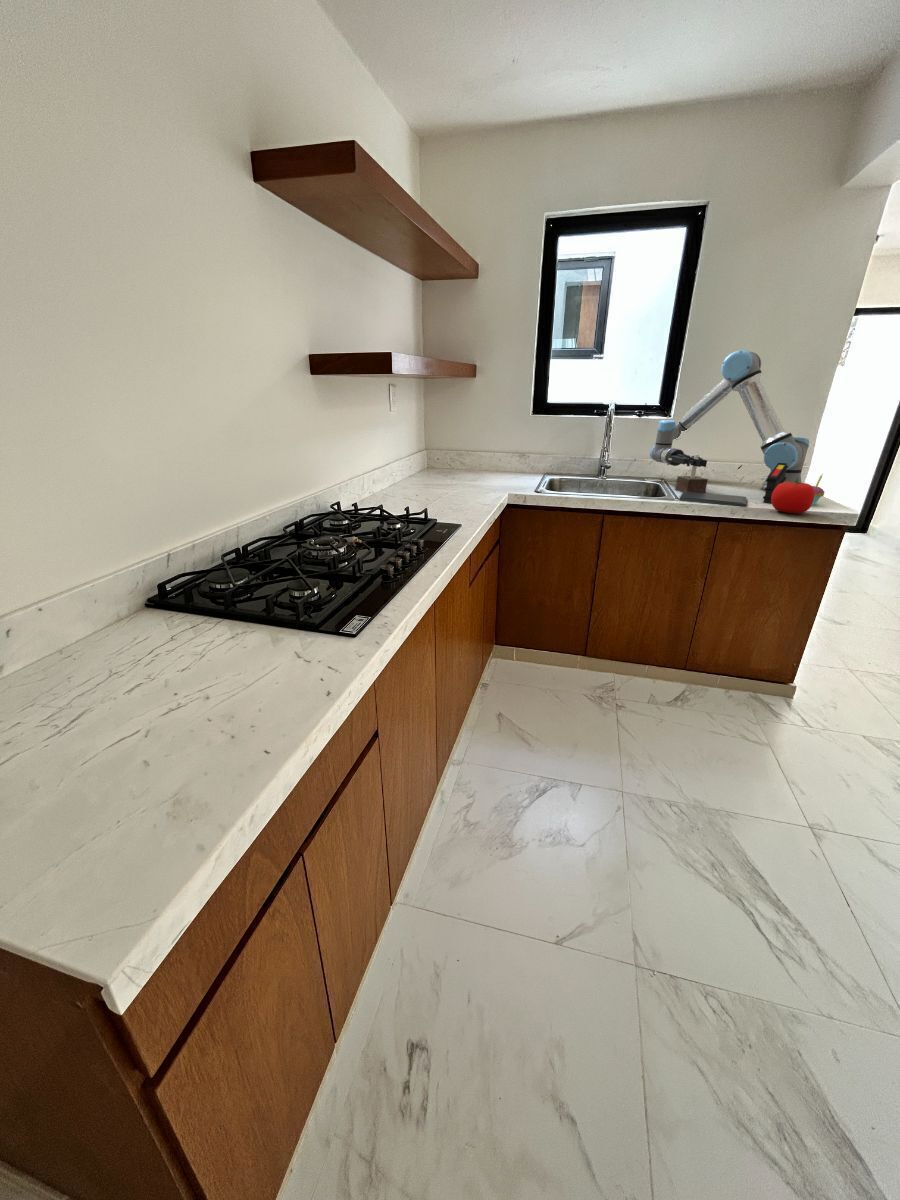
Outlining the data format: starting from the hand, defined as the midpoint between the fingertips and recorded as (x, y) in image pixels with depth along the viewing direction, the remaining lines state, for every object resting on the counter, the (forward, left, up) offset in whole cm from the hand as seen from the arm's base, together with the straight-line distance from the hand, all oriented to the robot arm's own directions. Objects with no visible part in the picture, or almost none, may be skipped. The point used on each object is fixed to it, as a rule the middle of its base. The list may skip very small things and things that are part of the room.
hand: (703, 463), depth 214 cm
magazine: (-28, +4, -13) cm, 31 cm away
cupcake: (-41, +2, -13) cm, 43 cm away
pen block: (+3, -4, -13) cm, 14 cm away
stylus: (+3, -4, -12) cm, 13 cm away
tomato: (-33, +24, -13) cm, 42 cm away
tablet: (-7, +12, -13) cm, 19 cm away
